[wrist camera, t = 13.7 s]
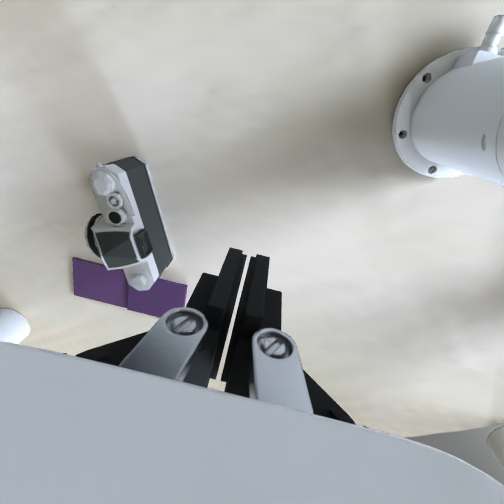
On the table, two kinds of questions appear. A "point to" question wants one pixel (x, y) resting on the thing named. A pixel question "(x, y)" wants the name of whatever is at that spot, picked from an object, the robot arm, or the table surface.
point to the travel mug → (497, 445)
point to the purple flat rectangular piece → (125, 289)
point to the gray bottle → (13, 326)
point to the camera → (128, 222)
